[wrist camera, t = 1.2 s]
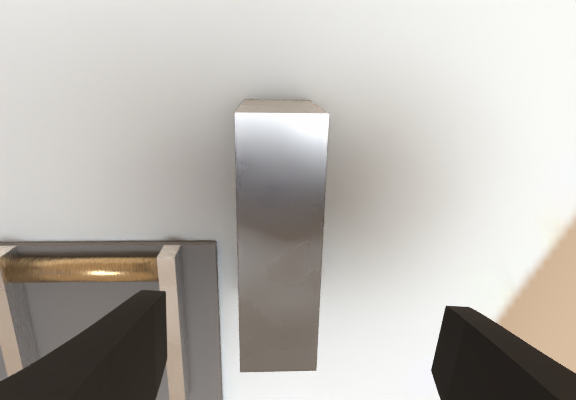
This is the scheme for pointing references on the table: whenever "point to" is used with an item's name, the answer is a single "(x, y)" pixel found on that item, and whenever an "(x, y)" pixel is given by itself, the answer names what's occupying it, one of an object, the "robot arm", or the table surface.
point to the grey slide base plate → (108, 295)
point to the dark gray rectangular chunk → (279, 231)
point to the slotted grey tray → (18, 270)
